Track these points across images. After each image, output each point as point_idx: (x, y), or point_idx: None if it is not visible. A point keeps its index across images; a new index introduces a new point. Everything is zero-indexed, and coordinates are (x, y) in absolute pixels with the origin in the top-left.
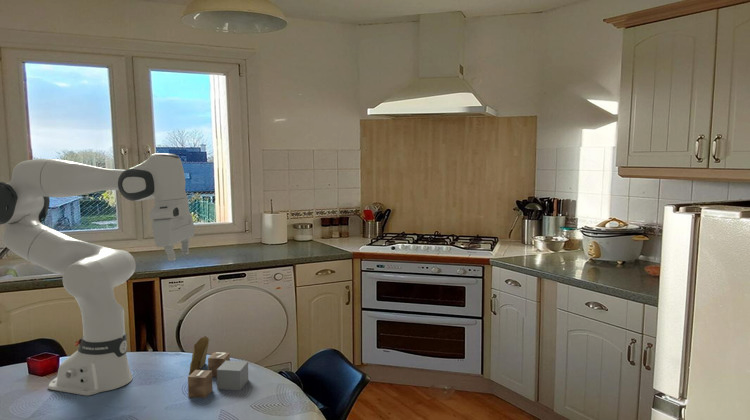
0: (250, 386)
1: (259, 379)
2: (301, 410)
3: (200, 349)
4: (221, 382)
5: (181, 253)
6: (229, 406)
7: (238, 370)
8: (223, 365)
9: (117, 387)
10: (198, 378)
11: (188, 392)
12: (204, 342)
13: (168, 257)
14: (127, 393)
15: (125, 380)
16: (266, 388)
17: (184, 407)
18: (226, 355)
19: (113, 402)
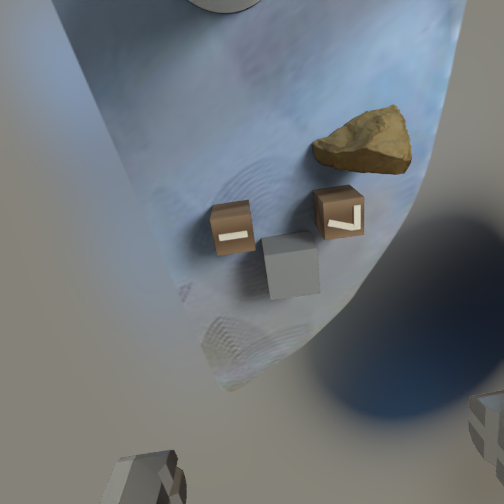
0: None
1: None
2: (226, 382)
3: (361, 164)
4: (263, 252)
5: (476, 401)
6: (203, 290)
7: (271, 296)
8: (289, 257)
9: (195, 3)
10: (214, 241)
11: (212, 208)
12: (385, 167)
13: (109, 492)
14: (183, 54)
15: (222, 7)
16: (284, 314)
17: (172, 222)
18: (346, 235)
19: (133, 55)
